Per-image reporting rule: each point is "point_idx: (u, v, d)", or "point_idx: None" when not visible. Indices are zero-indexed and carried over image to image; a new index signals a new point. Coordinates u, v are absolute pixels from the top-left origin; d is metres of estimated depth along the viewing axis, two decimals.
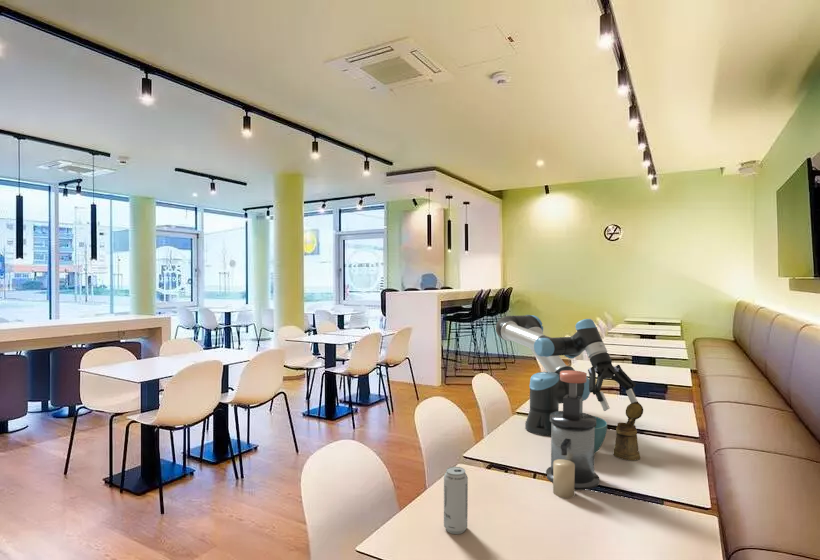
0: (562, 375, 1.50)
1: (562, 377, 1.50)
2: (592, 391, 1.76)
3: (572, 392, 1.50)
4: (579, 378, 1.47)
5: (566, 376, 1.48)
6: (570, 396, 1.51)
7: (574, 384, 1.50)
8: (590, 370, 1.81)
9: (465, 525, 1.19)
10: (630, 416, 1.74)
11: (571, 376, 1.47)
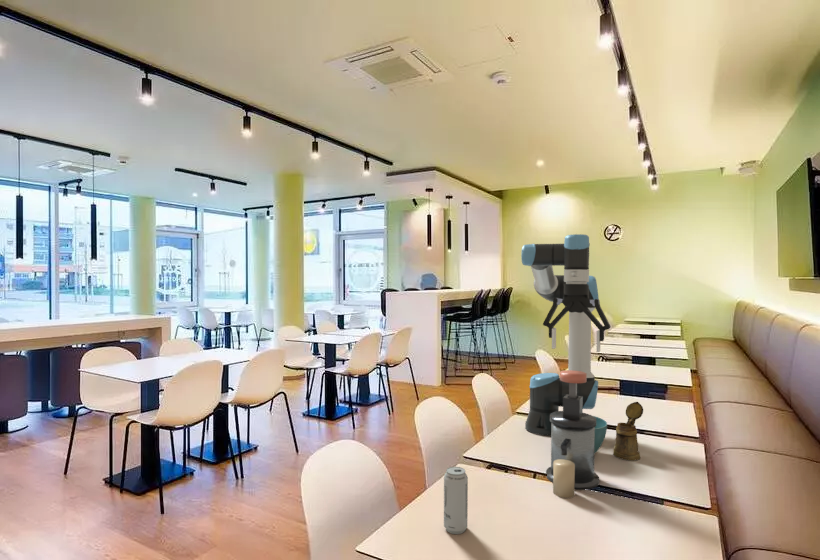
0: (562, 375, 1.50)
1: (562, 377, 1.50)
2: None
3: (572, 392, 1.50)
4: (579, 378, 1.47)
5: (566, 376, 1.48)
6: (570, 396, 1.51)
7: (574, 384, 1.50)
8: None
9: (465, 525, 1.19)
10: (630, 416, 1.74)
11: (571, 376, 1.47)
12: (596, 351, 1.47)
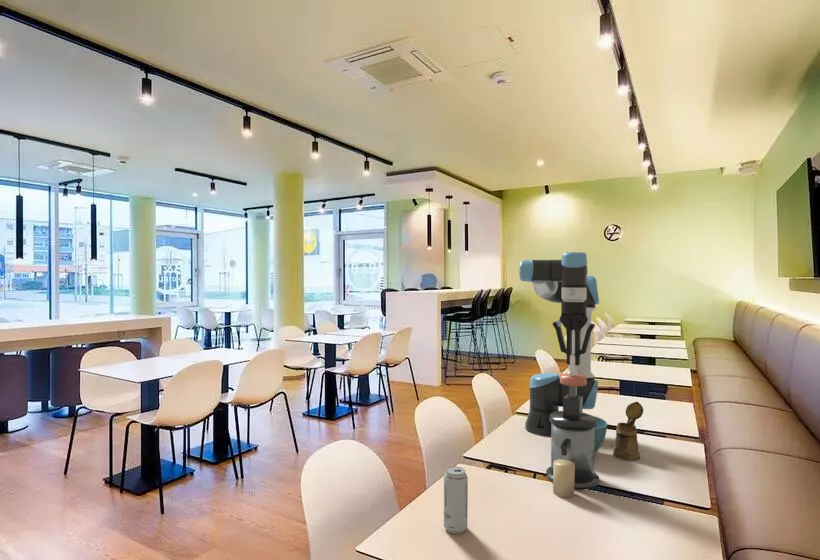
0: (562, 378, 1.50)
1: (562, 380, 1.50)
2: (562, 351, 1.53)
3: (572, 395, 1.50)
4: (579, 381, 1.47)
5: (566, 379, 1.48)
6: None
7: (574, 387, 1.50)
8: None
9: (465, 525, 1.19)
10: (630, 416, 1.74)
11: (571, 379, 1.47)
12: (572, 375, 1.50)
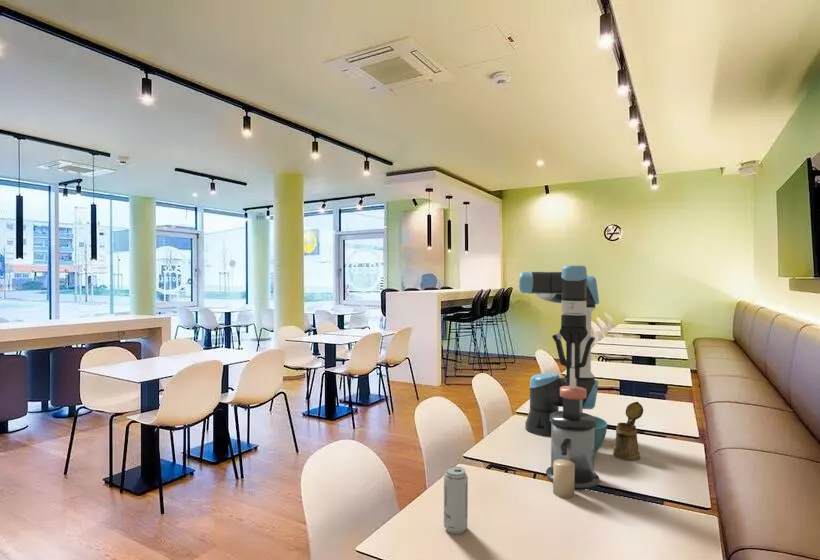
0: (562, 391, 1.50)
1: (562, 393, 1.50)
2: None
3: None
4: (579, 394, 1.47)
5: (566, 392, 1.48)
6: None
7: None
8: None
9: (465, 525, 1.19)
10: (630, 416, 1.74)
11: (571, 392, 1.48)
12: (572, 388, 1.50)
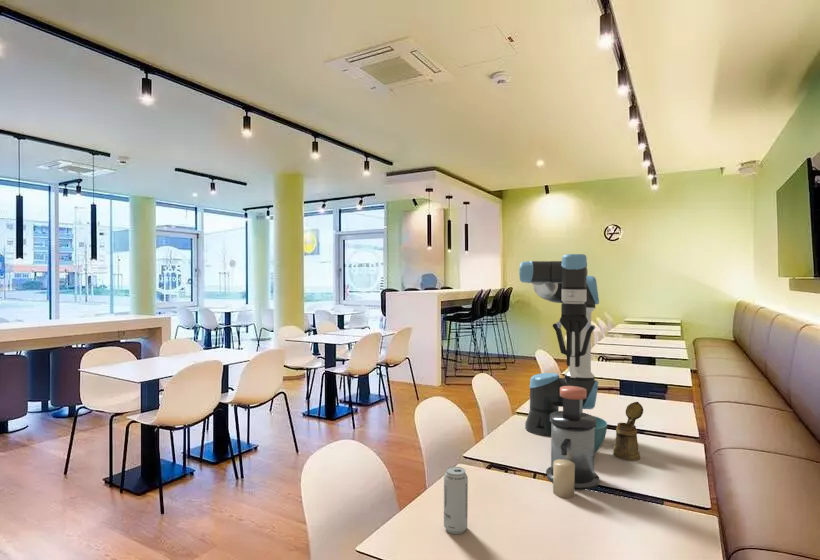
0: (562, 391, 1.50)
1: (562, 393, 1.50)
2: None
3: None
4: (579, 394, 1.47)
5: (566, 392, 1.48)
6: None
7: None
8: None
9: (465, 525, 1.19)
10: (630, 416, 1.74)
11: (571, 392, 1.48)
12: (572, 376, 1.50)
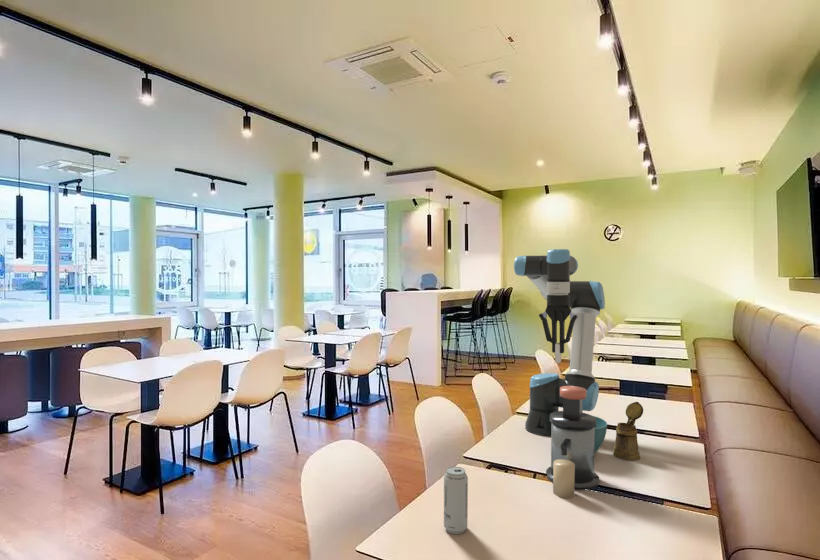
0: (562, 391, 1.50)
1: (562, 393, 1.50)
2: (548, 340, 1.66)
3: None
4: (579, 394, 1.47)
5: (566, 392, 1.48)
6: None
7: None
8: None
9: (465, 525, 1.19)
10: (630, 416, 1.74)
11: (571, 392, 1.48)
12: (557, 362, 1.63)
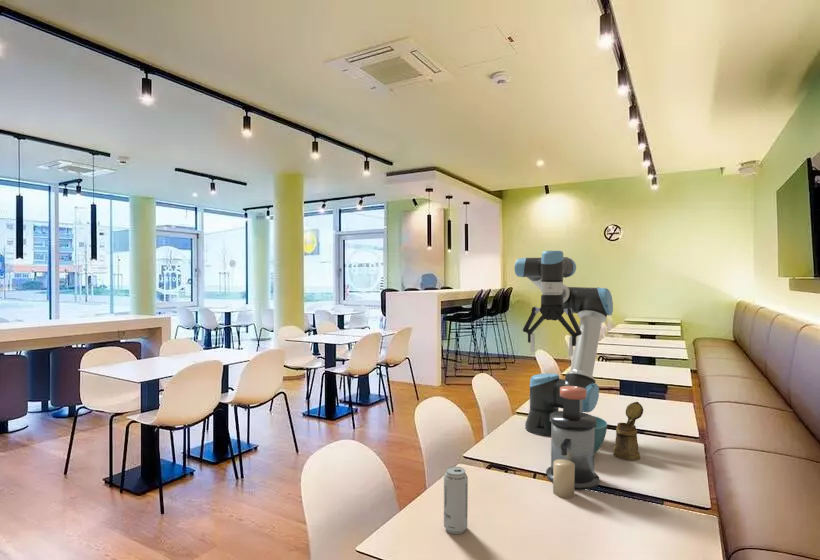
0: (562, 391, 1.50)
1: (562, 393, 1.50)
2: None
3: None
4: (579, 394, 1.47)
5: (566, 392, 1.48)
6: None
7: None
8: None
9: (465, 525, 1.19)
10: (630, 416, 1.74)
11: (571, 392, 1.48)
12: (569, 355, 1.65)
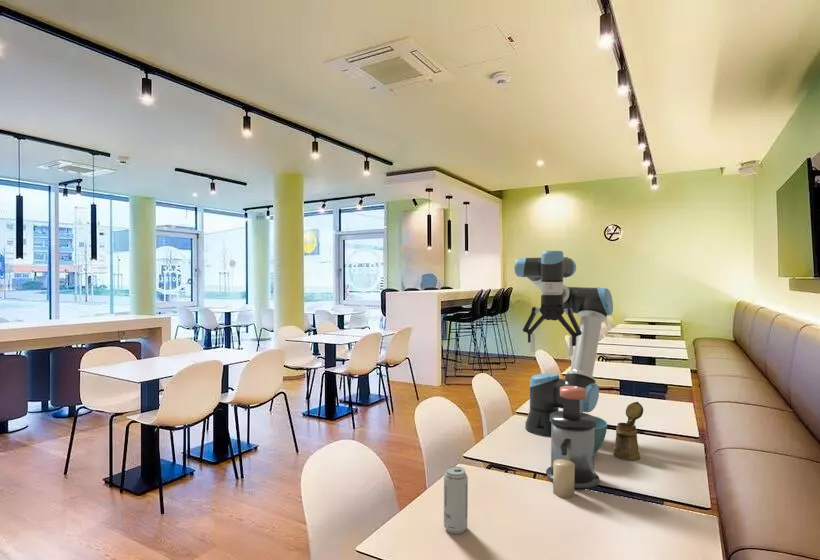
0: (562, 391, 1.50)
1: (562, 393, 1.50)
2: None
3: None
4: (579, 394, 1.47)
5: (566, 392, 1.48)
6: None
7: None
8: None
9: (465, 525, 1.19)
10: (630, 416, 1.74)
11: (571, 392, 1.48)
12: (569, 355, 1.65)
